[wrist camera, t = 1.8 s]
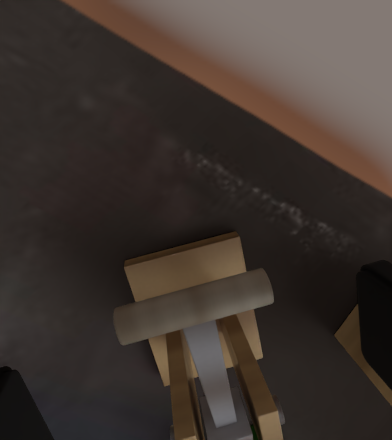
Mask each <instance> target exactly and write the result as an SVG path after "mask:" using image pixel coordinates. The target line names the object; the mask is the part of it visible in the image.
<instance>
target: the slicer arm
mask: <svg viewBox="0 0 392 440" xmlns="http://www.w3.org/2000/svg"><path fill="white" fill-rule="evenodd" d="M273 301H274V296H273V291H272V287H271V283H270V281H269V278H268V276H267V274H266V272H265V271H264V269H262V268H259V269H255V270H251V271H248V272H244V273H240V274H237V275H233V276H229V277H226V278H222V279H218V280H215V281H211V282H207V283H204V284H200V285H196V286H193V287H189V288H186V289H182V290H178V291H175V292H171V293H167V294H164V295H160V296H156V297H153V298H149V299H145V300H142V301H138V302H134V303H131V304H127V305H123V306H120V307H116V308H115V309H114V314H113V320H114V327H115V332H116V335H117V338H118V340H119V342H120V344H121V345H127V344H131V343H134V342H138V341H141V340H145V339H148V338H152V337H156V336H159V335H163V334H166V333H170V332H173V331H177V330H180V329H183V332H184V335H185V338H186V341H187V344H188V347H189V350H190V353H191V356H192V359H193V362H194V364H195V367H196V370H197V373H198V376H199V379H200V382H201V385H202V388H203V391H204V394H205V396H203V397H199V402H200V407H201V411H202V416H203V421H204V426H205V431H206V435H207V440H253V434H252V431H251V427H250V424H249V421H248V418H247V414H246V411H245V408H244V404H243V401H242V398H241V395H240V391H239V388H238V386H237V387H233V388H230V386H229V381H228V376H227V372H226V367H225V362H224V358H223V353H222V349H221V344H220V339H219V335H218V330H217V325H216V321H215V320H216V319H220V318H223V317H227V316H230V315H234V314H237V313H241V312H245V311H248V310H252V309H255V308H259V307H262V306H266V305H269V304H272V303H273Z"/></svg>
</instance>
